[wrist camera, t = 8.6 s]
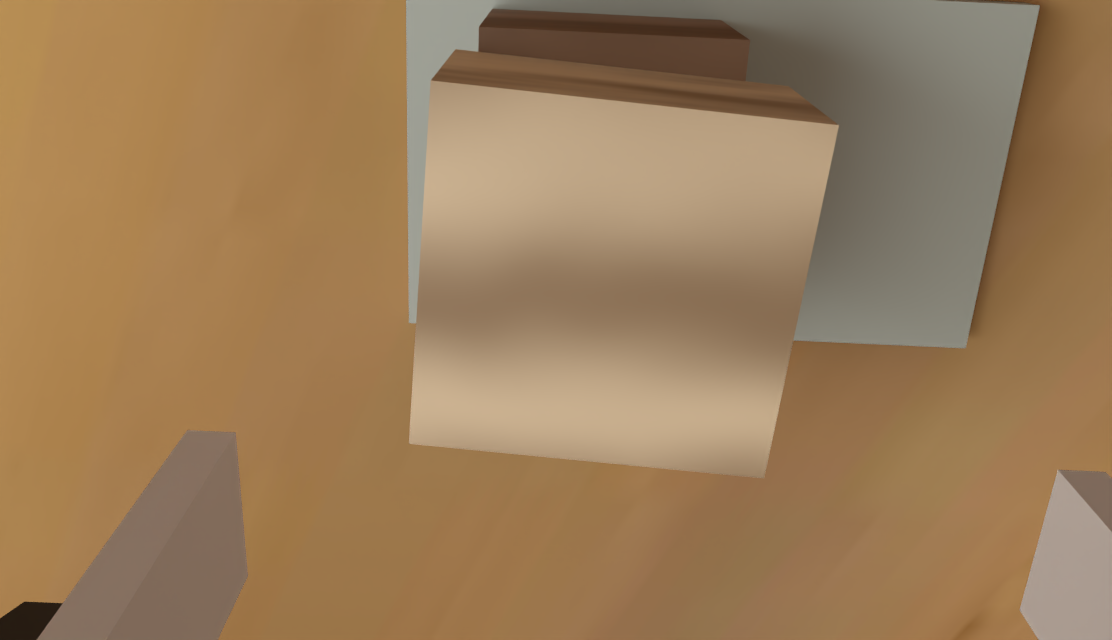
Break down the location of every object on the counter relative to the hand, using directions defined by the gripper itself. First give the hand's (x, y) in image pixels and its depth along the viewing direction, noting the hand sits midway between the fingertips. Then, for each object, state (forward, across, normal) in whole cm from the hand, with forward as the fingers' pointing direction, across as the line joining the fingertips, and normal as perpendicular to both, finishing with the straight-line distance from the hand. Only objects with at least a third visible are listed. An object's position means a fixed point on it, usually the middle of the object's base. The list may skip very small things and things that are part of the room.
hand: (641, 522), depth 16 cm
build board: (+24, +4, 0) cm, 24 cm away
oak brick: (+17, 0, 0) cm, 17 cm away
